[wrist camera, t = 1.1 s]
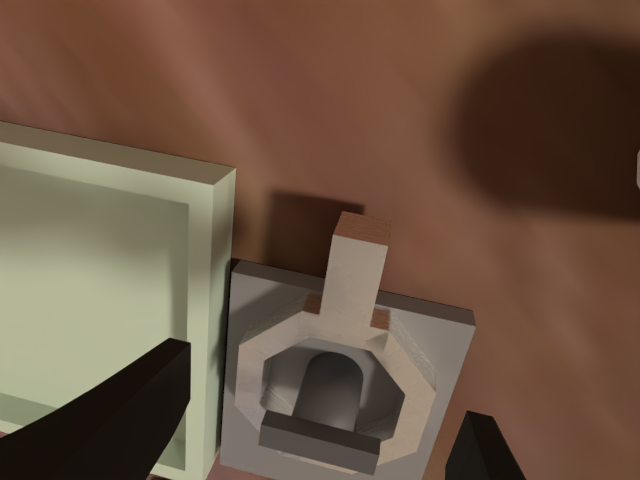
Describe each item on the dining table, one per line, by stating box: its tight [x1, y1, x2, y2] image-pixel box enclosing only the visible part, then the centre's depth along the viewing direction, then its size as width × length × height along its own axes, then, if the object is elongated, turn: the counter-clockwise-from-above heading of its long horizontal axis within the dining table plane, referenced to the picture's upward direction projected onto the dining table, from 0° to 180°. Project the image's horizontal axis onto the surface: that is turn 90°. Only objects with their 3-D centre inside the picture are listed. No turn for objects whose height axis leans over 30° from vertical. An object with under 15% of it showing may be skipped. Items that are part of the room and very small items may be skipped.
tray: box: [0, 121, 236, 480], centre depth 24 cm, size 18×19×2 cm
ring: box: [234, 211, 437, 474], centre depth 20 cm, size 13×9×2 cm
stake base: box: [220, 260, 476, 480], centre depth 22 cm, size 13×11×6 cm
